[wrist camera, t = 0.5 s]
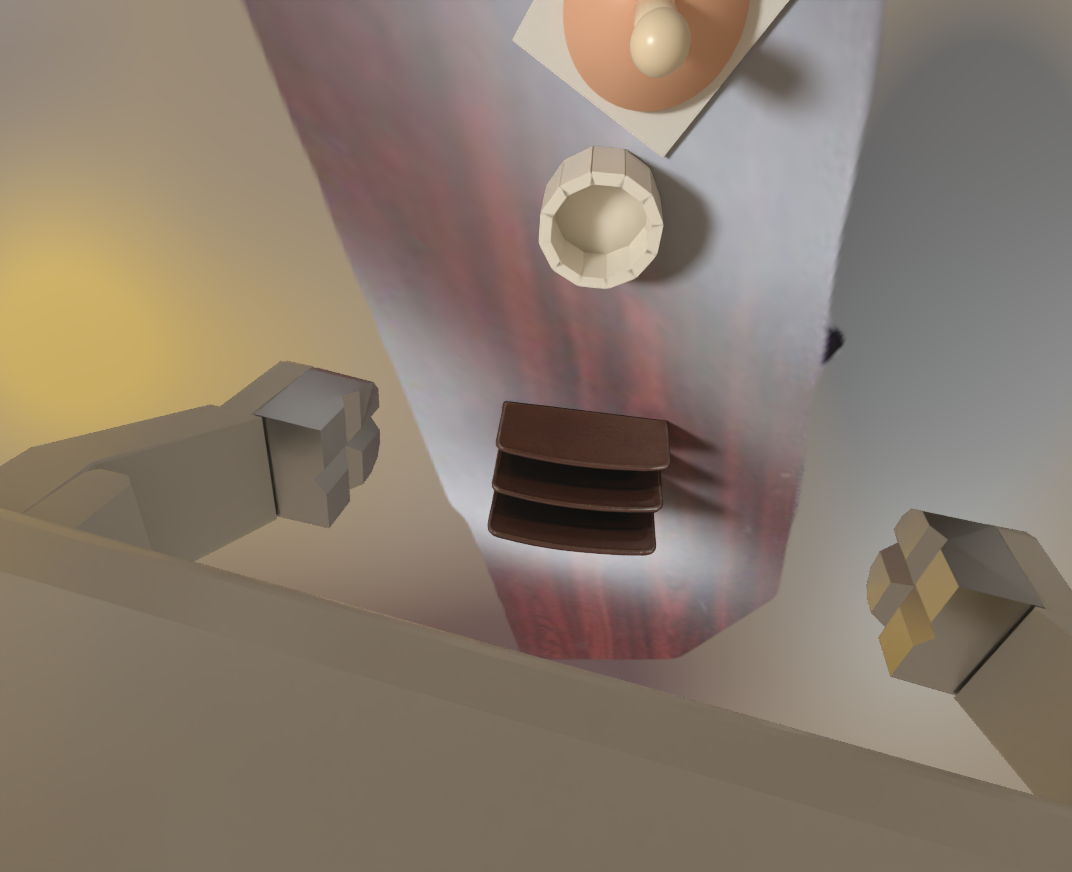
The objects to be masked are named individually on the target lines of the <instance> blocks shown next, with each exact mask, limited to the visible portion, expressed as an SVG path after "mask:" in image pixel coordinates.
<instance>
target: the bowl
mask: <svg viewBox="0 0 1072 872" xmlns="http://www.w3.org/2000/svg"><path fill="white" fill-rule="evenodd" d="M662 230H663V217H662V208H661V199H660V194H659V191H658V189H657V186H656V183H655V180H654V177H653V175H652V172H651V169H650V168H649V167H648V166H647V165H645V164H644V163H643V162H641V161H640V160H639V159H638V158H636V157H635V156H634V155H632V154H631V153H630V152H628V151H627V150H625V149H619V148H609V147H598V146H594V149H593V147H590V148H588V149H586V150H584V151H582V152H579V153H577V154H575V155H573V156H571V157H569V158H567V159H565V160H564V161H563V162H562V163H561V165H560V166H559V168H558V169H557V171H556V172H555V174H554V175H553V177H552V178H551V180H550V181H549V182H548V184H547V186H546V190H545V195H544V200H543V204H542V209H541V215H540V231H539V245H540V247H541V249H542V251H543V252H544V254H545V256H546V258H547V260H548V262H549V264H550V266H551V268H552V269H553V270H554V271H555V272H557V273H558V274H560V275H561V276H563V277H565V278H566V279H568V280H569V281H571V282H572V283H574V284H575V285H577V284H578V286H584V287H593V288H603V289H607V287H608V289H609V288H611V287H614V286H617V285H619V284H622V283H625V282H627V281H630V280H633V279H635V278H636V277H638V276H639V275H640V274H641V272H642V271H643V270H644V269H645V268H646V267H647V266H648V265H649V264H650V262H651V261H652V260H653V259H654V258H655V257H656V256H657V255H656V254H657V253H658V249H659V244H660V239H661V235H662Z"/></svg>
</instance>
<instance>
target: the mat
mask: <svg viewBox="0 0 1072 872" xmlns="http://www.w3.org/2000/svg"><path fill="white" fill-rule="evenodd" d="M788 1H789V0H749V8H748V13H747V18H746V22H745V26H744V29H743V32H742V35H741V37H740V40H739V42H738V44H737V47H736V49H735V51H734V52H733V54H732V56H731V58H730V60H729V61H728V62H727V64H726V65H725V67H724V68H723V70H722V71H721V72H720V73H719V74H718V76H717V77H716V78H715V79H714V80H713V81H712V82H711V83H710V84H709V85H708V86H707V87H706V88H704V89H703V90H702V91H701V92H699V93H698V94H697V95H695V96H694V97H692V98H690V99H689V100H687V101H685V102H683V103H681V104H679V105H676V106H674V107H671V108H667V109H663V110H659V111H650V112H645V111H633V110H627V109H624V108H621V107H618V106H616V105H614V104H612V103H610V102H608V101H606V100H605V99H603V98H602V97H600V96H599V95H598V94H596V93H595V92H594V91H593V90H592V89H591V88H590V87H589V86H588V85H587V83H586V82H585V81H584V80H583V79H582V77H581V75H580V74H579V72H578V71H577V69H576V67H575V65H574V63H573V61H572V59H571V56H570V53H569V50H568V47H567V43H566V38H565V34H564V24H563V2H564V0H534V1H533V3H532V4H531V6H530V8H529V10H528V12H527V14H526V15H525V17H524V19H523V21H522V23H521V25H520V27H519V28H518V30H517V32H516V34H515V36H514V38H513V39H512V41H514V42H515V43H516V44H518V45H519V46H520V47H521V48H523V49H524V50H525V51H526V52H528V53H529V54H530V55H532V56H533V57H534V58H535V59H537V60H538V61H539V62H541V63H542V64H543V65H544V66H546V67H547V68H548V69H549V70H551V71H552V72H553V73H555V74H556V75H557V76H558V77H560V78H561V79H562V80H564V81H565V82H566V83H567V84H569V85H570V86H571V87H572V88H574V89H575V90H576V91H578V92H579V93H580V94H581V95H583V96H584V97H585V98H587V99H588V100H589V101H590V102H592V103H593V104H594V105H595V106H597V107H598V108H599V109H601V110H602V111H603V112H604V113H606V114H607V115H608V116H610V117H611V118H612V119H613V120H615V121H616V122H617V123H618V124H620V125H621V126H622V127H624V128H625V129H626V130H627V131H629V132H630V133H631V134H633V135H634V136H635V137H636V138H638V139H639V140H640V141H641V142H643V143H644V144H645V145H647V146H648V147H649V148H650V149H652V150H653V151H654V152H656V153H657V154H658V155H659V156H661V157H662V158H663V157H664V156H665V155H666V153H667V152H668V151H669V150H670V148H671V147H672V146H673V145H674V143H675V142H676V141H677V140H678V138H679V137H680V136H681V135H682V133H683V132H684V131H685V130H686V128H687V127H688V126H689V125H690V123H691V122H692V121H693V120H694V118H695V117H696V116H697V115H698V113H699V112H700V111H701V110H702V108H703V107H704V106H705V105H706V103H707V102H708V101H709V100H710V98H711V97H712V96H713V95H714V93H715V92H716V91H717V90H718V89H719V87H720V86H721V85H722V84H723V82H724V81H725V80H726V79H727V77H728V76H729V75H730V74H731V72H732V71H733V70H734V69H735V67H736V66H737V65H738V64H739V62H740V61H741V60H742V59H743V57H744V56H745V55H746V54H747V52H748V51H749V50H750V49H751V47H752V46H753V45H754V44H755V42H756V41H757V40H758V39H759V37H760V36H761V35H762V34H763V32H764V31H765V30H766V29H767V27H768V26H769V25H770V24H771V22H772V21H773V20H774V19H775V18H776V16H777V15H778V14H779V13H780V11H781V10H782V9H783V8H784V6H785V5H786V4H787V3H788Z"/></svg>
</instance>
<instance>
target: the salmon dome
mask: <svg viewBox="0 0 1072 872" xmlns="http://www.w3.org/2000/svg"><path fill="white" fill-rule="evenodd" d="M748 8H749V0H564V2H563V24H564V34H565V38H566V43H567V47H568V50H569V53H570V56H571V59H572V61H573V63H574V65H575V67H576V69H577V71H578V72H579V74H580V75H581V77H582V79H583V80H584V81H585V82H586V83H587V85H588V86H589V87H590V88H591V89H592V90H593V91H594V92H595V93H596V94H598V95H599V96H600V97H602V98H603V99H605V100H606V101H608V102H610V103H612V104H614V105H616V106H618V107H621V108H624V109H627V110H633V111H645V112H650V111H659V110H663V109H667V108H671V107H674V106H676V105H679V104H681V103H683V102H685V101H687V100H689V99H690V98H692V97H694V96H695V95H697V94H698V93H699V92H701V91H702V90H703V89H704V88H706V87H707V86H708V85H709V84H710V83H711V82H712V81H713V80H714V79H715V78H716V77H717V76H718V74H719V73H720V72H721V71H722V70H723V68H724V67H725V65H726V64H727V62H728V61H729V60H730V58H731V56H732V54H733V52H734V51H735V49H736V47H737V44H738V42H739V40H740V37H741V35H742V32H743V29H744V26H745V22H746V18H747V13H748Z"/></svg>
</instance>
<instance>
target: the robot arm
mask: <svg viewBox="0 0 1072 872" xmlns="http://www.w3.org/2000/svg"><path fill="white" fill-rule="evenodd" d="M378 408H379V394H378V388H377V386H376V385H375V384H374V382H371V381H367V380H363V379H359V378H355V377H351V376H347V375H343V374H340V373H335V372H332V371H328V370H324V369H320V368H314V367H313V366H309V365H304V364H299V363H295V362H290V361H280V362H279V363H277V364H276V365H275V366H273V367H272V368H271V369H269V370H268V371H267V372H265V373H264V374H263V375H261V376H260V377H259V378H257V379H256V380H255V381H253V382H252V383H251V384H249V385H248V386H247V387H245V388H244V389H243V390H241V391H240V392H239V393H237V394H236V395H235V396H233V397H232V398H231V399H230V400H228V401H227V402H225V403H224V404H223V405H221V406H220V407H219V406H214V405H206V406H203V407H198V408H194V409H190V410H186V411H181V412H178V413H173V414H169V415H165V416H160V417H157V418H153V419H148V420H144V421H140V422H135V423H131V424H127V425H123V426H119V427H115V428H110V429H106V430H102V431H98V432H94V433H89V434H85V435H81V436H77V437H73V438H69V439H65V440H61V441H56V442H52V443H48V444H44V445H40V446H36V447H31V448H30V449H28V450H26V451H24V452H23V453H21V454H20V455H18V456H16V457H15V458H13V459H11V460H10V461H8V462H6V463H5V464H3V465H2V466H0V872H1072V590H1071V589H1070V587H1069V586H1068V584H1067V583H1066V581H1065V580H1064V578H1063V577H1062V575H1061V574H1060V572H1059V571H1058V570H1057V568H1056V567H1055V565H1054V564H1053V562H1052V561H1051V559H1050V558H1049V556H1048V555H1047V553H1046V552H1045V550H1044V549H1043V548H1042V546H1041V545H1040V543H1039V542H1038V540H1037V539H1036V538H1035V537H1033V536H1031V535H1030V534H1028V533H1027V532H1024V531H1018V530H1013V529H1009V528H1003V527H999V526H994V525H989V524H982V523H977V522H972V521H968V520H963V519H958V518H953V517H948V516H944V515H939V514H934V513H930V512H925V511H921V510H916V509H910V510H909V511H908V512H907V513H906V514H904V515H903V516H902V517H901V519H900V520H899V522H898V523H897V525H896V526H895V528H894V531H895V535H896V538H897V542H898V543H896V544H894V545H892V546H890V547H888V548H885V549H883V550H881V551H880V552H879V554H878V555H877V557H876V559H875V561H874V562H873V564H872V566H871V568H870V572H869V577H868V581H867V600H868V604H869V607H870V611H871V613H872V614H873V615H874V616H875V617H876V618H877V619H878V620H879V621H880V622H881V623H882V624H883V625H884V626H885V628H884V630H883V631H882V633H881V634H880V636H879V641H880V644H881V647H882V651H883V654H884V657H885V661H886V664H887V667H888V670H889V673H890V676H891V677H894V678H897V679H901V680H904V681H908V682H911V683H915V684H918V685H922V686H925V687H928V688H932V689H935V690H939V691H942V692H946V693H949V694H953V695H956V696H955V697H954V698H955V700H956V701H957V702H958V703H959V704H960V706H961V707H962V708H963V709H964V710H965V712H966V713H967V714H968V715H969V716H970V718H971V719H972V720H973V721H974V722H975V724H976V725H977V726H978V727H979V728H980V730H981V731H982V732H983V733H984V735H985V736H986V737H987V738H988V739H989V741H990V742H991V743H992V744H993V745H994V747H995V748H996V749H997V750H998V751H999V752H1000V754H1001V755H1002V756H1003V757H1004V759H1005V760H1006V761H1007V762H1008V764H1009V765H1010V766H1011V767H1012V768H1013V770H1014V771H1015V772H1016V773H1017V774H1018V776H1019V777H1020V778H1021V779H1022V780H1023V782H1024V783H1025V784H1026V785H1027V786H1028V788H1029V789H1030V790H1031V791H1032V792H1033V794H1034V795H1032V794H1029V793H1025V792H1022V791H1018V790H1014V789H1010V788H1007V787H1003V786H1000V785H996V784H992V783H989V782H985V781H981V780H978V779H974V778H970V777H967V776H963V775H960V774H956V773H952V772H949V771H945V770H941V769H938V768H934V767H931V766H927V765H924V764H920V763H916V762H913V761H909V760H906V759H902V758H898V757H895V756H891V755H888V754H884V753H881V752H877V751H874V750H870V749H866V748H863V747H859V746H856V745H852V744H848V743H845V742H841V741H838V740H834V739H830V738H827V737H823V736H820V735H816V734H813V733H809V732H805V731H802V730H798V729H795V728H791V727H787V726H784V725H781V724H777V723H774V722H770V721H766V720H763V719H759V718H756V717H752V716H748V715H745V714H741V713H738V712H734V711H731V710H727V709H723V708H720V707H716V706H712V705H709V704H706V703H702V702H698V701H695V700H691V699H688V698H684V697H680V696H677V695H673V694H669V693H666V692H662V691H659V690H655V689H652V688H648V687H644V686H641V685H637V684H633V683H630V682H626V681H622V680H619V679H615V678H612V677H608V676H604V675H601V674H597V673H594V672H590V671H586V670H583V669H579V668H575V667H572V666H568V665H565V664H561V663H558V662H554V661H550V660H547V659H543V658H539V657H536V656H532V655H529V654H525V653H521V652H518V651H514V650H510V649H507V648H503V647H500V646H496V645H493V644H489V643H485V642H482V641H478V640H474V639H471V638H467V637H464V636H460V635H456V634H453V633H449V632H445V631H441V630H438V629H434V628H431V627H427V626H424V625H420V624H417V623H413V622H410V621H406V620H402V619H399V618H395V617H392V616H388V615H384V614H381V613H377V612H373V611H370V610H366V609H363V608H359V607H355V606H352V605H348V604H345V603H341V602H337V601H334V600H330V599H327V598H323V597H319V596H316V595H312V594H308V593H305V592H301V591H298V590H294V589H291V588H287V587H283V586H280V585H276V584H272V583H269V582H265V581H262V580H258V579H254V578H251V577H247V576H244V575H240V574H236V573H233V572H229V571H226V570H222V569H219V568H215V567H211V566H208V565H204V564H201V563H197V562H194V561H196V560H198V559H200V558H202V557H204V556H206V555H208V554H210V553H211V552H214V551H215V550H217V549H219V548H221V547H223V546H225V545H227V544H229V543H231V542H233V541H235V540H237V539H239V538H241V537H243V536H245V535H247V534H249V533H251V532H252V531H254V530H256V529H258V528H260V527H262V526H264V525H266V524H268V523H270V522H272V521H274V520H276V519H277V516H279V517H283V518H287V519H291V520H296V521H300V522H304V523H309V524H313V525H317V526H322V527H325V528H330V527H331V525H332V524H333V523H334V521H335V520H336V519H337V517H338V516H339V515H340V514H341V512H342V511H343V510H344V508H345V507H346V506H347V505H348V503H349V502H350V490H349V489H352V488H354V487H357V486H359V485H362V484H363V483H364V482H365V481H366V479H367V478H368V477H369V475H370V474H371V472H372V469H373V467H374V465H375V462H376V460H377V457H378V451H379V444H380V430H379V428H378V427H377V425H376V424H375V422H374V421H373V420H372V418H371V416H372V415H373V414H374V412H375V411H376V410H377V409H378Z"/></svg>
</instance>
